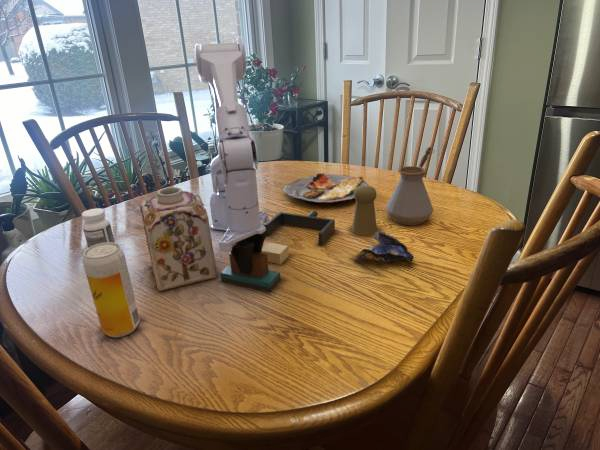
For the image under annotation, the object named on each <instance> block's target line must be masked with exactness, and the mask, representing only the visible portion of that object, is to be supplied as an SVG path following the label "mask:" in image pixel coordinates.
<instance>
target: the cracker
mask: <svg viewBox="0 0 600 450" xmlns="http://www.w3.org/2000/svg"><path fill="white" fill-rule="evenodd" d="M289 251H290V250H289V245H286V244H281V243H273V242H266V244H264V245H263V247H262V251H261V253H263V254H267V256H268V263H272V264H277V265H282V263H284V262H285V260H286V259H287V258H289V256H290V254H289V253H290V252H289Z"/></svg>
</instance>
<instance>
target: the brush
mask: <svg viewBox="0 0 600 450" xmlns="http://www.w3.org/2000/svg"><path fill="white" fill-rule="evenodd" d="M228 255H229V263H230V264H229V265H227V267H225V268H224V269H223V270H222V271H220V274H219V275H220V281H221V282H222V283H227V284H231V285H236V286H240V287H245V288H249V289H254V290H259V291H262V292H266V293H271V292H272V291H273V290H274V289H275V287H276V286H277V285H278V284H279V283H280V282H281V281H282V277H281V271H277V270H272V269H270V268H269V262H268V256H267V254H263V253H258V252H252V268H251V273H250V274H245V273H240V270H239V268H238V266H237V263H236V261H235V259H234V257H233V256H232V254H231V253H229V254H228Z"/></svg>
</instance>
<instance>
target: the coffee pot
mask: <svg viewBox="0 0 600 450" xmlns="http://www.w3.org/2000/svg"><path fill="white" fill-rule="evenodd" d="M431 150H432V151H433V152H431ZM435 151H436V150H435V149H434V148H433V147H431V146H429V147H427V148H426V149H425V152H424V153H425V154H424V155H423V156H422V158H421V160H420V163H419V165H418V166H413V165H409V166H402V167H400V168H398V169H397V172H398V174H399V175H400V178H399V181H398V182H397V183H396V186H395V187H394V190H393V192H392V194H391V196H390V198H389V200H388V202H387V204H386V206H385V211H386V213H387V215H388V216H389V217H390V218H391V219H393V221H394V222H395V223H398V224H400V225H404V226H416V225H420V224H422V223H424V222H425V221H426V220H428V219H429V218H430V217H431V216H432V214H433V213H434V206H433V204H432V202H431V199H430V196H429V193H428V191H427V188H426V186H425V182H424V180H423V178H424V176H425V175H426V174H427V170H426V169H425V168H423V167H424V166H425V163H427V161H428V158H429V155H431V154H434V153H435Z"/></svg>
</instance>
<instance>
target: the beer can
mask: <svg viewBox="0 0 600 450" xmlns="http://www.w3.org/2000/svg"><path fill="white" fill-rule="evenodd" d="M82 255H83V256H82V260H81V261H82V265H83V268H84V272H85V275H86V279H87V282H88V283H87V284H88V287H89V290H90V294H91V297H92V301H93V304H94V307H95V311H96V314H97V319H98V322H99V325H100V330H101V332H102V333H103V334H105V335H107V336H108V337H110V338H121V337H125V336H127V335H130V334H132V333H133V332H134V331H135V330H136V329H137V328H138V325H139V324H140V314H139V311H138V305H137V302H136V298H135V297H136V296H135V294H134V290H133V285H132V281H131V276H130V272H129V268H128V264H127V259H126V255H125V251H124V249H122V247H121V246H120V244H119V243H117V242H115V243H114V242H105V243H100V244H96V245H93V246H91V247H89V248H88V247H87V248H86V249H84V251H83V253H82Z"/></svg>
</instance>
